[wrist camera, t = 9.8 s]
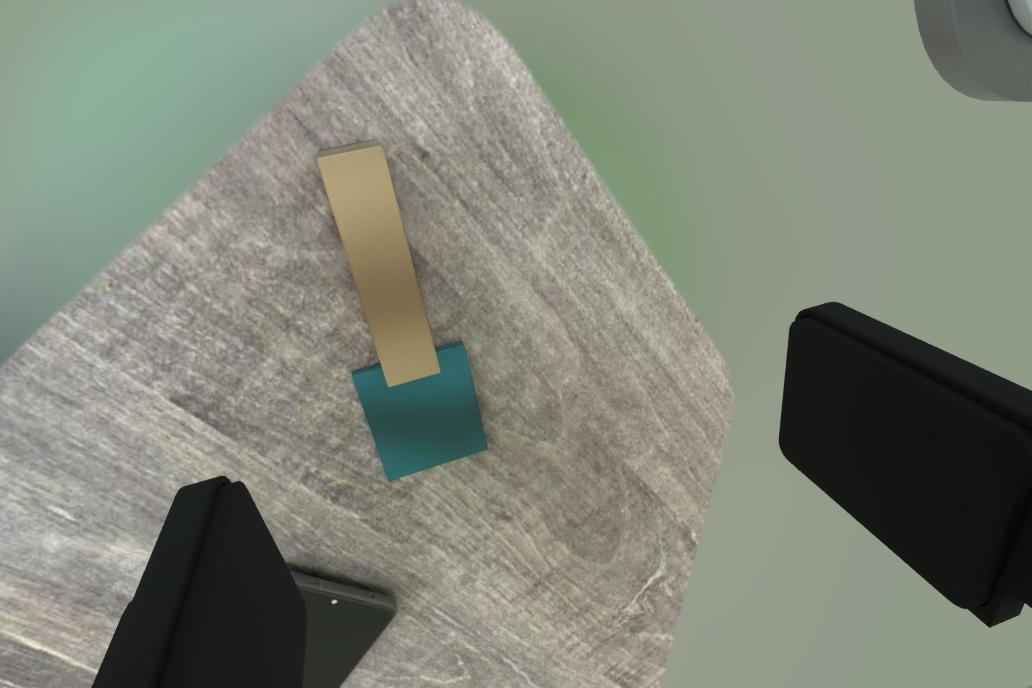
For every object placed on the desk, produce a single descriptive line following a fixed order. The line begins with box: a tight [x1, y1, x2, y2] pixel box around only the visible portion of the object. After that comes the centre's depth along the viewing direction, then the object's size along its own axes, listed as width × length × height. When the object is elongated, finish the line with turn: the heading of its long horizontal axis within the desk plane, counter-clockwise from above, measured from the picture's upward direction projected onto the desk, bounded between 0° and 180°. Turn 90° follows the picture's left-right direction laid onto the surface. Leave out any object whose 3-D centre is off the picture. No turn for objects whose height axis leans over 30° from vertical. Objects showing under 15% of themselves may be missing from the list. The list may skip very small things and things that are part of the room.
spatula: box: [317, 139, 488, 481], centre depth 22 cm, size 15×5×2 cm, turn 9°
